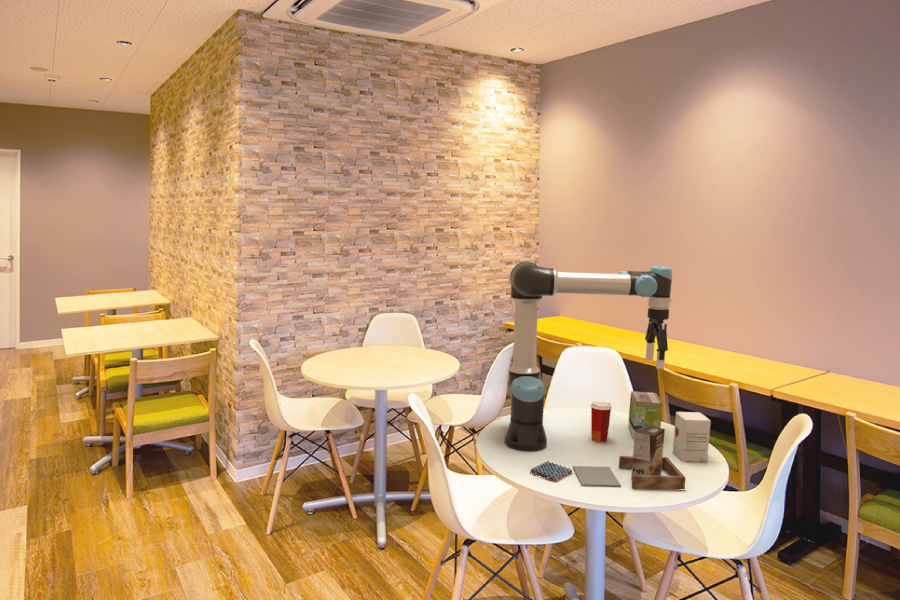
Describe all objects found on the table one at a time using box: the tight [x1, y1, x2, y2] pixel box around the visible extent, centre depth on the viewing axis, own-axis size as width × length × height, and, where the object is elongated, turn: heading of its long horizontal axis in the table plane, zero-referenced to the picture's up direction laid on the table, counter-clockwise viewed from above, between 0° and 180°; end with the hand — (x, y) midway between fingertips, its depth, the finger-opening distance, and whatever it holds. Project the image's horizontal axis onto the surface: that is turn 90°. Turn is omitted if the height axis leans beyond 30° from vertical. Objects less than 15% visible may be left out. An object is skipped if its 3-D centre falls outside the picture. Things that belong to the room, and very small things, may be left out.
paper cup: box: [589, 400, 613, 443], centre depth 232 cm, size 8×8×14 cm
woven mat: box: [529, 460, 573, 484], centre depth 201 cm, size 10×11×2 cm
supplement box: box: [672, 411, 712, 463], centre depth 217 cm, size 9×9×15 cm
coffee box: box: [630, 425, 665, 481], centre depth 198 cm, size 9×6×16 cm
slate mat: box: [572, 465, 622, 488], centre depth 199 cm, size 12×14×1 cm
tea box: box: [627, 390, 663, 439], centre depth 240 cm, size 15×10×15 cm
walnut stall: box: [618, 455, 687, 490], centre depth 199 cm, size 16×16×4 cm
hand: (654, 364), depth 235 cm, fingers open, 13 cm apart
